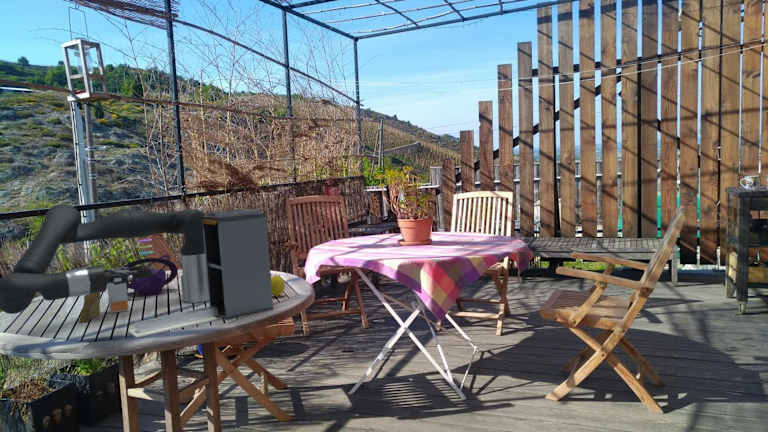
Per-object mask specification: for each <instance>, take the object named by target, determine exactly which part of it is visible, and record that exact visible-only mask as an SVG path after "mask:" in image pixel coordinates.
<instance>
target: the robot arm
mask: <svg viewBox="0 0 768 432" xmlns="http://www.w3.org/2000/svg"><path fill="white" fill-rule="evenodd" d="M202 216H207V214H205V213H204V212H203V211H201V210H200V209H182V210H177V211H167V212H157V211H150V210H138V209H137V210H136V209H135V210H134V209H133V210H132V209H131V210H119V211H115V212H112V213H110V214H108V215H106V216H102V217H100V218H99V219H96V220H93V221H88V222H81V214H80V212H79V211H78V209H77V208H76V207H74V206H72V205H69V204H65V203H59V204H55V205H53V206H51V207H50V208H49V209H48V210H47V212H46V213H45V216H44V221H43V223H42V225H41V227H40V229H39V231H38V232H37V234H36V236H35V237H34V239H33V240H32V242H31V243H30V245H29V246H28V248H27V249H26V251H24V253H23V255H22V256H21V257H20V259H19V260H18V261H17V262H16V264H15V266H14V267H13V268H12V273H9V274H6V275H4V276H2V277H0V310H1V311H2V312H3V313H6V314H9V315H14V314H18V313H19V314H20V313H22V312H23V311H25V310H26V309H28V307H30V305H31V304H32V302H33V300H34V297H35V295H36V293H40V294H41V296H42V298H43V299H44V301H55V300H62V299H68V298H75V297H82V296H83V297H84V296H86V295H89V294H95V293H100V294H101V293H104V292H106V291H107V290H108V288H107V284H108V283H113V284H114V285H118V284H123V283H131V282H136V281H137V280H138V279H141V278H146V277H151V276H152V273H151V270H152V269H151V268H147V269H145V270H143V269H144V267H143V265H139V266H137V265H136V266H133V267H131V268H129V267H124V266H121V267H117V268H111V269H110V268H109V269H105V267H104V266H103V265H94V266H87V267H80V268H75V269H71V270H70V269H69V270H67V271H61V272H55V273H48V274H46V272H47V270H48V269H49V267H50V266H51V263H52V261H53V259H54V258H55V255H56V253H57V250H58V248H59V246H60V245H65V244H66V245H67V244H75V243H76V244H77V243H83V242H89V241H98V240H110V239H137V238H140V237H146V236H155V235H159V234H178V235H183V236H184V243H183V244H182V246H181V247H180V258H181V269H182V274H181V275H180V283H181V285H180V286H181V297H182V302H185V303H189V304H195V303H203V302H207V301H209V295H208V283H207V271H206V260H205V248H204V236H203V225H202ZM130 275H131V276H130Z"/></svg>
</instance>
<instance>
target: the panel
mask: <svg viewBox="0 0 768 432" xmlns="http://www.w3.org/2000/svg"><path fill="white" fill-rule="evenodd" d="M213 316H214V317H216V316H218V308H217V307H214V306H204V307H200V308H195V309H190V310H187V311H182V312H176V313H172V314H169V315H163V316H158V317H153V318H149V319H148V318H147V319H144V320H140V321H134V329H135V331H137V332H138V333H143V332H147V331H152V330H156V329H160V328H165V327H169V326H174V325H178V324H182V323H187V322H191V321H195V320H200V319H204V318H209V317H213Z"/></svg>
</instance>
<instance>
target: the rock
mask: <svg viewBox="0 0 768 432" xmlns="http://www.w3.org/2000/svg"><path fill="white" fill-rule="evenodd" d="M83 298H84V299H83V300H84V302H83V305H82V306H83V307H82V308H81V312H80V315H79V316H80V317H79V320H78V322H79V323H86V322H88V321H91V320H93V319H94V318H97V317H98V316H100V315H101V309H100V308H101V307H100V305H101V292H100V293H95V294H89V295H84V296H83Z"/></svg>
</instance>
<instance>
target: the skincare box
mask: <svg viewBox="0 0 768 432" xmlns="http://www.w3.org/2000/svg"><path fill="white" fill-rule="evenodd" d="M107 296H108V297H107V299H108V307H109V308H108V309H109V314H113V313H121V312H129V310H130V309H129V308H130V307H129V300H128V299H129V298H128V297H129V296H127V285H126V283H123V284H118V285H114V284H113V283H108V284H107Z"/></svg>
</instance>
